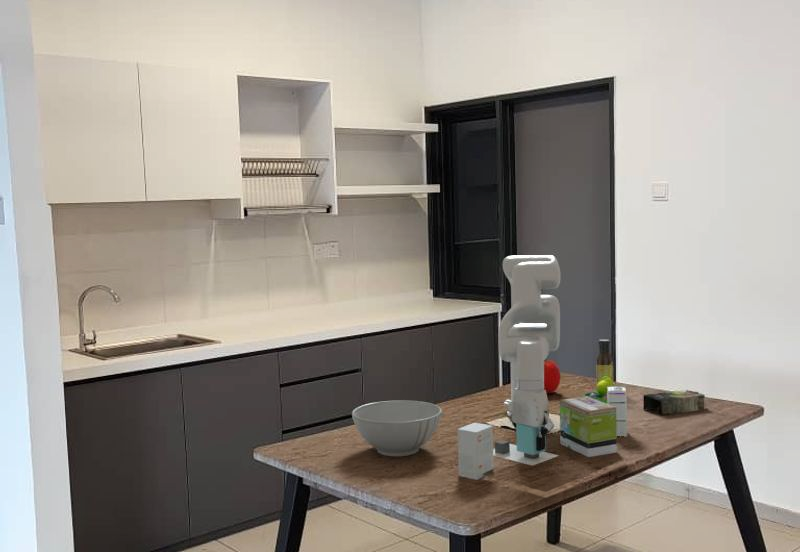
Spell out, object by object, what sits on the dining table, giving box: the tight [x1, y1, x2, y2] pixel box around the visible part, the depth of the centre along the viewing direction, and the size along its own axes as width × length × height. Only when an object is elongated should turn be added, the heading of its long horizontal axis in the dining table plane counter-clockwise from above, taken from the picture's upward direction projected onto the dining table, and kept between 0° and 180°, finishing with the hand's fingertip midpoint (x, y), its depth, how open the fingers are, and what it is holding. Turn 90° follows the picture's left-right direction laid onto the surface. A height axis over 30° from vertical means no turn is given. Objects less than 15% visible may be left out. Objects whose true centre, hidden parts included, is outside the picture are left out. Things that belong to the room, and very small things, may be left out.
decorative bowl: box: [351, 399, 443, 457], centre depth 250 cm, size 27×27×12 cm
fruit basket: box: [582, 376, 612, 403], centre depth 292 cm, size 11×9×11 cm
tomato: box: [544, 358, 561, 394], centre depth 319 cm, size 12×12×13 cm
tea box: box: [559, 396, 618, 458], centre depth 243 cm, size 15×10×15 cm, turn 22°
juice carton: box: [642, 389, 707, 416], centre depth 289 cm, size 20×10×6 cm, turn 112°
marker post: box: [524, 453, 539, 459], centre depth 237 cm, size 3×3×6 cm
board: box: [493, 439, 560, 466], centre depth 240 cm, size 18×12×4 cm, turn 43°
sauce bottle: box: [595, 339, 615, 392], centre depth 318 cm, size 6×6×20 cm
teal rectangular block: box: [515, 424, 547, 455], centre depth 236 cm, size 6×6×8 cm
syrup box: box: [607, 386, 628, 438], centre depth 261 cm, size 6×6×14 cm
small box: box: [456, 422, 495, 481], centre depth 226 cm, size 8×6×13 cm
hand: (531, 447), depth 237 cm, fingers closed on teal rectangular block, 5 cm apart
